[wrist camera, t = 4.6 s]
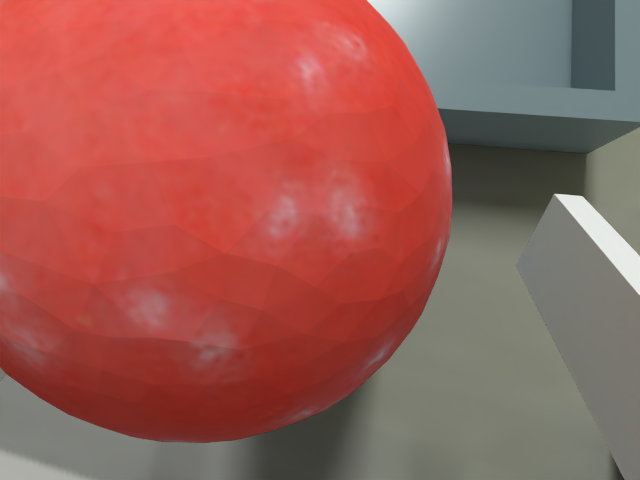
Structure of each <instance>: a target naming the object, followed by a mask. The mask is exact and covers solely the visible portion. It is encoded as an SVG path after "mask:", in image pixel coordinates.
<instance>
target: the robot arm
mask: <svg viewBox="0 0 640 480" xmlns="http://www.w3.org/2000/svg"><path fill="white" fill-rule="evenodd" d="M516 267H517V269H518V271H519V273H520V275H521V277H522V279H523V281H524V283H525V285H526V286H527V288H528V290H529V292H530V294H531V296H532V298H533V300H534V302H535V304H536V306H537V308H538V310H539V312H540V314H541V316H542V318H543V320H544V322H545V324H546V326H547V328H548V330H549V332H550V334H551V336H552V338H553V340H554V342H555V344H556V346H557V348H558V350H559V352H560V354H561V356H562V358H563V360H564V362H565V363H566V365H567V367H568V369H569V371H570V373H571V375H572V377H573V379H574V381H575V383H576V385H577V387H578V389H579V391H580V393H581V395H582V397H583V399H584V401H585V403H586V405H587V407H588V409H589V411H590V413H591V415H592V417H593V419H594V421H595V423H596V425H597V427H598V429H599V431H600V433H601V435H602V437H603V438H604V440H605V442H606V444H607V446H608V448H609V450H610V452H611V454H612V456H613V458H614V460H615V462H616V464H617V466H618V468H619V470H620V472H621V474H622V476H623V478H624V480H640V256H639V255H638V254H637V253H636V252H635V251H634V250H633V249H632V248H631V247H630V246H629V244H628V243H627V242H626V241H625V240H624V239H623V238H622V237H621V236H620V235H619V234H618V233H617V232H616V231H615V230H614V229H613V228H612V227H611V226H610V225H609V224H608V223H607V221H606V220H605V219H604V218H603V217H602V216H601V215H600V214H599V213H598V212H597V211H596V210H595V209H594V208H593V207H592V206H591V205H590V204H589V203H588V202H587V201H586V199H585V198H584V197H583V196H575V195H563V194H554V195H553V197H552V199H551V200H550V202H549V204H548V206H547V208H546V210H545V212H544V214H543V216H542V217H541V219H540V221H539V223H538V225H537V227H536V229H535V231H534V233H533V234H532V236H531V238H530V240H529V242H528V244H527V246H526V248H525V250H524V251H523V253H522V255H521V257H520V259H519V261H518V263H517V265H516ZM5 375H6V373H5V372H4V371H3V370H2V369H1V368H0V381H1V380H2V379H3V377H4V376H5Z"/></svg>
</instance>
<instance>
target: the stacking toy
mask: <svg viewBox="0 0 640 480" xmlns="http://www.w3.org/2000/svg"><path fill="white" fill-rule="evenodd" d="M451 215H452V172H451V162H450V155H449V149H448V143H447V137H446V132H445V128H444V125H443V122H442V119H441V117H440V114H439V111H438V109H437V106H436V103H435V101H434V98H433V95H432V92H431V90H430V87H429V85H428V83H427V81H426V80H425V78H424V76H423V74H422V72H421V70H420V68H419V66H418V65H417V63H416V61H415V60H414V58H413V56H412V55H411V53H410V51H409V49H408V48H407V46H406V44H405V43H404V41H403V40H402V39H401V37H400V36H399V35H398V34H397V32H396V31H395V30H394V29H393V28H392V26H391V25H390V24H389V23H388V22H387V21H386V20H385V19H384V18H383V17H382V15H381V14H380V13H379V12H378V11H377V10H376V9H375V8H374V7H373V6H372V5H371V4H370V3H369V2H368V1H367V0H0V368H1V369H2V370H3V371H4V372H5V373H6V374H7V375H9V376H10V377H11V378H13V379H14V380H16V381H17V382H18V383H20V384H21V385H23V386H24V387H25V388H27V389H28V390H30V391H31V392H32V393H34V394H35V395H37V396H38V397H39V398H41V399H43V400H44V401H46V402H48V403H50V404H51V405H53V406H55V407H56V408H58V409H60V410H62V411H63V412H65V413H67V414H68V415H71V416H73V417H76V418H79V419H81V420H84V421H86V422H89V423H92V424H94V425H97V426H100V427H103V428H106V429H109V430H112V431H116V432H119V433H122V434H125V435H128V436H132V437H136V438H142V439H148V440H154V441H161V442H194V443H209V442H220V441H232V440H238V439H242V438H246V437H250V436H254V435H258V434H262V433H266V432H269V431H272V430H275V429H279V428H282V427H285V426H287V425H290V424H293V423H295V422H298V421H301V420H304V419H306V418H308V417H310V416H313V415H315V414H317V413H319V412H321V411H324V410H326V409H327V408H329V407H331V406H332V405H334V404H335V403H337V402H339V401H340V400H342V399H344V398H345V397H347V396H348V395H349V394H350V393H352V392H353V391H354V390H355V389H357V388H358V387H359V386H360V385H362V384H363V383H364V382H365V381H366V380H367V379H368V378H369V377H370V376H371V375H373V374H374V373H375V372H376V371H377V370H378V369H379V368H380V367H381V366H382V365H383V364H384V363H385V362H387V361H388V360H389V359H390V357H391V356H392V355H393V353H394V352H395V351H396V350H397V348H398V347H399V346H400V344H401V343H402V342H403V340H404V339H405V338H406V337H407V335H408V334H409V333H410V331H411V330H412V328H413V327H414V325H415V324H416V322H417V320H418V319H419V317H420V316H421V314H422V312H423V310H424V307H425V305H426V303H427V300H428V298H429V296H430V294H431V291H432V289H433V287H434V284H435V282H436V280H437V277H438V275H439V271H440V268H441V265H442V261H443V258H444V255H445V251H446V248H447V245H448V241H449V238H450V227H451Z"/></svg>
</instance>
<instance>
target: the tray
mask: <svg viewBox="0 0 640 480" xmlns="http://www.w3.org/2000/svg"><path fill="white" fill-rule="evenodd" d="M367 1H368V2H369V3H370V4H371V5H372V6H373V7H374V8H375V9H376V10H377V11H378V12H379V13H380V14H381V15H382V17H383V18H384V19H385V20H386V21H387V22H388V23H389V24H390V25H391V26H392V28H393V29H394V30H395V31H396V32H397V34H398V35H399V36H400V37H401V39H402V40H403V41H404V43H405V44H406V46H407V48H408V49H409V51H410V53H411V55H412V56H413V58H414V60H415V61H416V63H417V65H418V66H419V68H420V70H421V72H422V74H423V76H424V78H425V80H426V81H427V83H428V85H429V87H430V90H431V92H432V95H433V98H434V101H435V103H436V106H437V109H438V111H439V114H440V117H441V119H442V122H443V125H444V128H445V132H446V137H447V143H451V144H465V145H478V146H492V147H506V148H519V149H533V150H547V151H560V152H574V153H589V152H591V151H593V150H595V149H597V148H599V147H601V146H603V145H605V144H607V143H609V142H611V141H613V140H615V139H617V138H619V137H621V136H623V135H625V134H627V133H629V132H631V131H633V130H634V129H636V128H638V127H640V0H367Z"/></svg>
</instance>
